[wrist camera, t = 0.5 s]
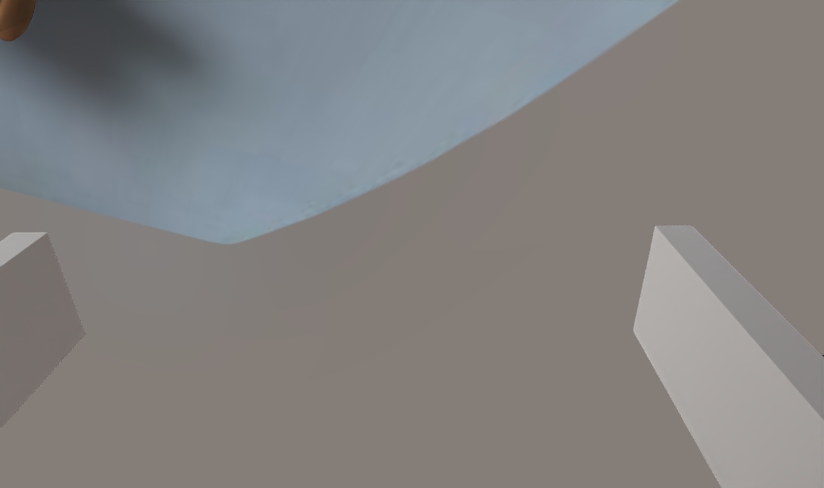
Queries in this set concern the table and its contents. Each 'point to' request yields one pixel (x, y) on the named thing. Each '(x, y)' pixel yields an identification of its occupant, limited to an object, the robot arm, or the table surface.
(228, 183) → the table surface
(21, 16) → the dowel
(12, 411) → the robot arm
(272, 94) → the table surface
